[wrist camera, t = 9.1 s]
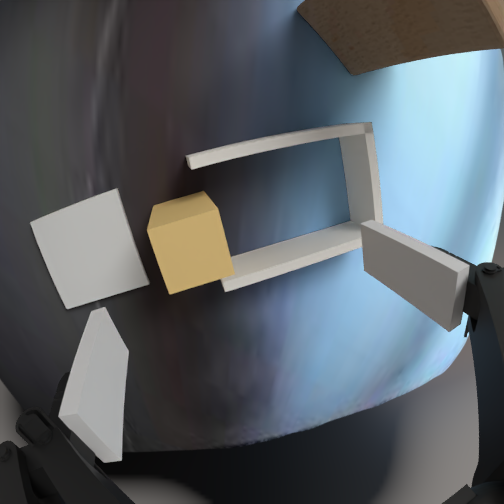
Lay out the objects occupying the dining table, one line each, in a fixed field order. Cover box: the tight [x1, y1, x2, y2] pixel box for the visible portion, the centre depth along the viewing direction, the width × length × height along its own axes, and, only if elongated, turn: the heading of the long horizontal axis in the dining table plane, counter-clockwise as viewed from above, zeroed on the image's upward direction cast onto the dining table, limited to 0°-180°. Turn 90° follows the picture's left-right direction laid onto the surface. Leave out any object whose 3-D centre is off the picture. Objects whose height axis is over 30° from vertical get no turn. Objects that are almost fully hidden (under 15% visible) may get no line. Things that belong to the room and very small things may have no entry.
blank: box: [147, 191, 235, 294], centre depth 25 cm, size 5×5×9 cm
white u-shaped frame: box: [186, 122, 383, 292], centre depth 28 cm, size 12×17×5 cm
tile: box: [30, 188, 149, 309], centre depth 27 cm, size 10×10×1 cm
